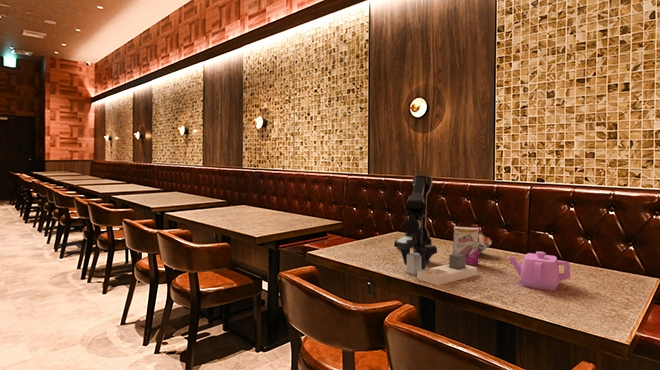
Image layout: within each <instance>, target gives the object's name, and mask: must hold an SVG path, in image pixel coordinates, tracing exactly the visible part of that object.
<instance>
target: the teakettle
mask: <svg viewBox="0 0 660 370" xmlns="http://www.w3.org/2000/svg"><path fill="white" fill-rule="evenodd" d="M508 260H509V262H510V263H511V264H512V266H513V268H514V269H515V271H516V272H517V274H518V276H520V278H519V279H520V284H521V286H522V287H526V288H532V289H537V290H544V291H545V290H546V291H551V292H553V291H554V292H555V291H556V290H557V289H558V287H559V285H560V282H562V281H566V280H569V279H571V266H570V265H571V264H570V262H569V261H566V260H559V259H558V258H557V256H555V255H549V254H546V252H544V251H536V252H535V253H532V252H531V253H530V252H528V253H526V254H525V255H524V257H523V259H522V264H521V263H520V262H519V261H518V260H517V259H516V258H515V256H508ZM559 266H563V272H562V273H560V268H559Z"/></svg>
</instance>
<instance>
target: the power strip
mask: <svg viewBox="0 0 660 370" xmlns="http://www.w3.org/2000/svg"><path fill="white" fill-rule="evenodd" d="M475 276H478V267H476V266H472V265H470V264H465V268H464V269H459V270H457V269H453V268H449V263H448V264H444V265H439V266H435V267H430V268H429V267H428V268H426V269H424V270H420V271H417V274H416V279H417V280H420V281H422V282H426V283H429V284H432V285H436V286H441V285H444V284H448V283H452V282H457V281H459V280H463V279H467V278H471V277H475Z"/></svg>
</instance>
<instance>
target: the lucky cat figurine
mask: <svg viewBox="0 0 660 370" xmlns="http://www.w3.org/2000/svg"><path fill="white" fill-rule="evenodd" d="M492 242H493V241H492V240H491V239H490V237H488V236H487V237H486V236H485V235H484V234H483V233H480V232H479V255H480V254H481V253H482V252H483V251H485V250H486V249H487V248H489V247H490V246H491V245H492Z"/></svg>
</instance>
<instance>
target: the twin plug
mask: <svg viewBox="0 0 660 370" xmlns="http://www.w3.org/2000/svg"><path fill="white" fill-rule="evenodd" d="M465 263H466V255H463V254H459V253H456V254H453V253H451V254H449V263H448V264H449V268H453V269H457V270H459V269H464V268H465V265H466V264H465Z"/></svg>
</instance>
